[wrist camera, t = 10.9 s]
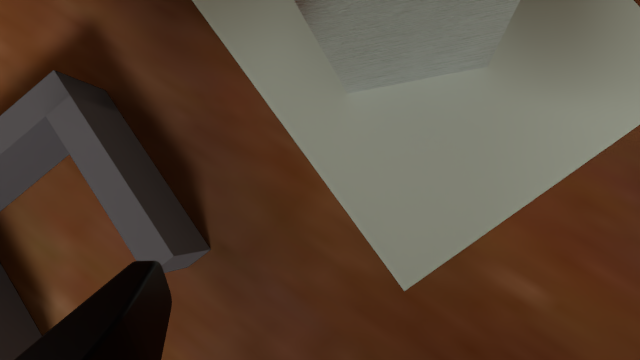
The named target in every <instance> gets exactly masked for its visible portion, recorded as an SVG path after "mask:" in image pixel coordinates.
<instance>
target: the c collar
mask: <svg viewBox="0 0 640 360" xmlns="http://www.w3.org/2000/svg"><path fill="white" fill-rule="evenodd" d="M69 154H70V156H71V157H72V159H73V160H74V162H75V163H76V165H77V167H78V168H79V170H80V171H81V173H82V175H83V176H84V178H85V179H86V181H87V183H88V184H89V186H90V187H91V189H92V191H93V192H94V194H95V195H96V197H97V198H98V200H99V202H100V203H101V205H102V206H103V208H104V210H105V211H106V213H107V214H108V216H109V218H110V219H111V221H112V222H113V224H114V226H115V227H116V229H117V230H118V232H119V233H120V235H121V237H122V238H123V240H124V241H125V243H126V245H127V246H128V248H129V249H130V251H131V253H132V254H133V256H134V257H135V259H136V261H153V260H154V261H158V262H159V263H160V264H161V266H162V268H163V271H164V273H166V272H170V271H174V270H178V269H183V268H187V267H189V266H190V265H191V264H193V263H194V262H195V261H196V260H198V259H199V258H200V257H202V256H203V255H204V254H206V253H207V252H208V251H210V250H211V249H210V248H209V246H208V245H207V243H206V242H205V240H204V239H203V237H202V236H201V234H200V233H199V231H198V230H197V228H196V227H195V225H194V224H193V222H192V221H191V219H190V218H189V216H188V215H187V213H186V212H185V210H184V209H183V207H182V206H181V204H180V203H179V201H178V200H177V198H176V197H175V195H174V194H173V192H172V190H171V189H170V187H169V186H168V184H167V183H166V181H165V180H164V178H163V177H162V175H161V174H160V172H159V171H158V169H157V168H156V166H155V165H154V163H153V162H152V160H151V159H150V157H149V156H148V154H147V153H146V151H145V150H144V148H143V147H142V145H141V144H140V142H139V141H138V139H137V138H136V136H135V135H134V133H133V132H132V130H131V129H130V127H129V126H128V124H127V123H126V121H125V120H124V118H123V116H122V115H121V113H120V112H119V110H118V109H117V107H116V106H115V104H114V103H113V101H112V100H111V98H110V97H109V95H108V94H107V92H106V91H105V90H103V89H101V88H98V87H95V86H93V85H90V84H88V83H85V82H83V81H80V80H78V79H75V78H73V77H70V76H68V75H65V74H63V73H60V72H57V71H55V70H53V71H52V72H51V73H50V74H48V75H47V76H46V77H45V78H44V79H43V80H41V81H40V82H39V83H38V84H37V85H36V86H34V87H33V88H32V89H31V90H30V91H29V92H28V93H26V94H25V95H24V96H23V97H22V98H21V99H19V100H18V101H17V102H16V103H15V104H14V105H12V106H11V107H10V108H9V109H8V110H7V111H5V112H4V113H3V114H2V115H1V116H0V211H1V210H2V209H4V208H5V207H6V206H7V205H9V204H10V203H11V202H12V201H13V200H15V199H16V198H17V197H18V196H19V195H21V194H22V193H23V192H24V191H25V190H27V189H28V188H29V187H30V186H31V185H33V184H34V183H35V182H36V181H37V180H39V179H40V178H41V177H42V176H43V175H45V174H46V173H47V172H48V171H50V170H51V169H52V168H53V167H54V166H56V165H57V164H58V163H59V162H60V161H62V160H63V159H64V158H65V157H66V156H68V155H69ZM41 337H42V335H41V333H40V332H39V330H38V328H37V326H36V325H35V323H34V321H33V319H32V318H31V316H30V314H29V312H28V311H27V309H26V307H25V305H24V304H23V302H22V300H21V298H20V297H19V295H18V293H17V291H16V290H15V288H14V286H13V284H12V283H11V281H10V279H9V277H8V276H7V274H6V272H5V270H4V269H3V267H2V265H1V263H0V360H14V359H15V358H16V357H18V356H19V355H20V354H21V353H22V352H24V351H25V350H26V349H27V348H28V347H30V346H31V345H32V344H33V343H35V342H36V341H37V340H38V339H39V338H41Z"/></svg>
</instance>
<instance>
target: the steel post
mask: <svg viewBox="0 0 640 360" xmlns="http://www.w3.org/2000/svg"><path fill="white" fill-rule="evenodd" d="M294 1H295V3H296V5H297V6H298V8H299V10H300V12H301V13H302V15H303V17H304V19H305V20H306V22H307V24H308V26H309V27H310V29H311V31H312V33H313V34H314V36H315V38H316V39H317V41H318V43H319V45H320V46H321V48H322V50H323V52H324V53H325V55H326V57H327V59H328V60H329V62H330V64H331V66H332V67H333V69H334V71H335V73H336V74H337V76H338V78H339V80H340V81H341V83H342V85H343V87H344V88H345V90H346V92H347V94H348V93H354V92H359V91H364V90H369V89H374V88H380V87H385V86H390V85H395V84H400V83H405V82H411V81H416V80H421V79H426V78H431V77H437V76H442V75H447V74H452V73H457V72H463V71H468V70H473V69H478V68H483V67H488V65H489V63H490V61H491V59H492V57H493V55H494V53H495V51H496V49H497V47H498V45H499V43H500V40H501V38H502V36H503V34H504V32H505V30H506V28H507V26H508V24H509V22H510V20H511V18H512V16H513V14H514V12H515V10H516V8H517V6H518V4H519V2H520V0H294Z"/></svg>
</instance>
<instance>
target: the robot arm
mask: <svg viewBox="0 0 640 360" xmlns="http://www.w3.org/2000/svg"><path fill="white" fill-rule="evenodd" d="M171 305H172V299H171V293H170V290H169V287H168V284H167V280H166V277H165V274H164V271H163V268H162V266H161V264H160V263H159V262H158V261H154V260H153V261H135V262H133V263H131V264H130V265H128V266H127V267H126V268H125V269H123V270H122V271H121V272H120V273H119V274H117V275H116V276H115V277H114V278H113V279H111V280H110V281H109V282H108V283H106V284H105V285H104V286H103V287H102V288H100V289H99V290H98V291H97V292H95V293H94V294H93V295H92V296H91V297H89V298H88V299H87V300H86V301H85V302H83V303H82V304H81V305H80V306H78V307H77V308H76V309H75V310H74V311H72V312H71V313H70V314H69V315H67V316H66V317H65V318H64V319H63V320H61V321H60V322H59V323H58V324H57V325H55V326H54V327H53V328H52V329H50V330H49V331H48V332H47V333H46V334H44V335H43V336H42V337H41V338H39V339H38V340H37V341H36V342H35V343H33V344H32V345H31V346H30V347H28V348H27V349H26V350H25V351H24V352H22V353H21V354H20V355H19V356H18V357H16V358H15V359H14V360H161V358H162V352H163V347H164V342H165V337H166V332H167V327H168V322H169V317H170V312H171Z"/></svg>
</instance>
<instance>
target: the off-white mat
mask: <svg viewBox="0 0 640 360" xmlns="http://www.w3.org/2000/svg"><path fill="white" fill-rule="evenodd" d="M192 1H193V2H194V4H195V5H196V7H197V8H198V9H199V11H200V12H201V13H202V15H203V16H204V18H205V19H206V20H207V22H208V23H209V24H210V26H211V27H212V28H213V30H214V31H215V33H216V34H217V35H218V37H219V38H220V39H221V41H222V42H223V44H224V45H225V46H226V48H227V49H228V50H229V52H230V53H231V54H232V56H233V57H234V59H235V60H236V61H237V63H238V64H239V65H240V67H241V68H242V70H243V71H244V72H245V74H246V75H247V76H248V78H249V79H250V81H251V82H252V83H253V85H254V86H255V87H256V89H257V90H258V91H259V93H260V94H261V96H262V97H263V98H264V100H265V101H266V102H267V104H268V105H269V107H270V108H271V109H272V111H273V112H274V113H275V115H276V116H277V117H278V119H279V120H280V122H281V123H282V124H283V126H284V127H285V128H286V130H287V131H288V133H289V134H290V135H291V137H292V138H293V139H294V141H295V142H296V143H297V145H298V146H299V148H300V149H301V150H302V152H303V153H304V154H305V156H306V157H307V159H308V160H309V161H310V163H311V164H312V165H313V167H314V168H315V170H316V171H317V172H318V174H319V175H320V176H321V178H322V179H323V180H324V182H325V183H326V185H327V186H328V187H329V189H330V190H331V191H332V193H333V194H334V196H335V197H336V198H337V200H338V201H339V202H340V204H341V205H342V206H343V208H344V209H345V211H346V212H347V213H348V215H349V216H350V217H351V219H352V220H353V222H354V223H355V224H356V226H357V227H358V228H359V230H360V231H361V232H362V234H363V235H364V237H365V238H366V239H367V241H368V242H369V243H370V245H371V246H372V248H373V249H374V250H375V252H376V253H377V254H378V256H379V257H380V258H381V260H382V261H383V263H384V264H385V265H386V267H387V268H388V269H389V271H390V272H391V274H392V275H393V276H394V278H395V279H396V280H397V282H398V283H399V285H400V286H401V287H402V289H403V290H404V291H405V290H407V289H408V288H410V287H411V286H412V285H414V284H415V283H417V282H418V281H420V280H421V279H422V278H424V277H425V276H427V275H428V274H429V273H431V272H432V271H434V270H435V269H436V268H438V267H439V266H441V265H442V264H443V263H445V262H446V261H448V260H449V259H451V258H452V257H453V256H455V255H456V254H458V253H459V252H460V251H462V250H463V249H465V248H466V247H467V246H469V245H470V244H472V243H473V242H475V241H476V240H477V239H479V238H480V237H482V236H483V235H484V234H486V233H487V232H489V231H490V230H491V229H493V228H494V227H496V226H497V225H499V224H500V223H501V222H503V221H504V220H506V219H507V218H508V217H510V216H511V215H513V214H514V213H515V212H517V211H518V210H520V209H521V208H522V207H524V206H525V205H527V204H528V203H530V202H531V201H532V200H534V199H535V198H537V197H538V196H539V195H541V194H542V193H544V192H545V191H546V190H548V189H549V188H551V187H552V186H554V185H555V184H556V183H558V182H559V181H561V180H562V179H563V178H565V177H566V176H568V175H569V174H570V173H572V172H573V171H575V170H576V169H578V168H579V167H580V166H582V165H583V164H585V163H586V162H587V161H589V160H590V159H592V158H593V157H594V156H596V155H597V154H599V153H600V152H601V151H603V150H604V149H606V148H607V147H609V146H610V145H611V144H613V143H614V142H616V141H617V140H618V139H620V138H621V137H623V136H624V135H625V134H627V133H628V132H630V131H631V130H633V129H634V128H635V127H637V126H638V125H640V7H639V6H638V5H637V4H636V2H635V1H634V0H520V2H519V4H518V6H517V8H516V10H515V12H514V14H513V16H512V18H511V20H510V22H509V24H508V26H507V28H506V30H505V32H504V34H503V36H502V38H501V40H500V43H499V45H498V47H497V49H496V51H495V53H494V55H493V57H492V59H491V61H490V63H489V65H488V67H483V68H478V69H473V70H468V71H463V72H457V73H452V74H447V75H442V76H437V77H431V78H426V79H421V80H416V81H411V82H405V83H400V84H395V85H390V86H385V87H380V88H374V89H369V90H364V91H359V92H354V93H348V94H347V92H346V90H345V88H344V87H343V85H342V83H341V81H340V80H339V78H338V76H337V74H336V73H335V71H334V69H333V67H332V66H331V64H330V62H329V60H328V59H327V57H326V55H325V53H324V52H323V50H322V48H321V46H320V45H319V43H318V41H317V39H316V38H315V36H314V34H313V33H312V31H311V29H310V27H309V26H308V24H307V22H306V20H305V19H304V17H303V15H302V13H301V12H300V10H299V8H298V6H297V5H296V3H295V1H294V0H192Z"/></svg>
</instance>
